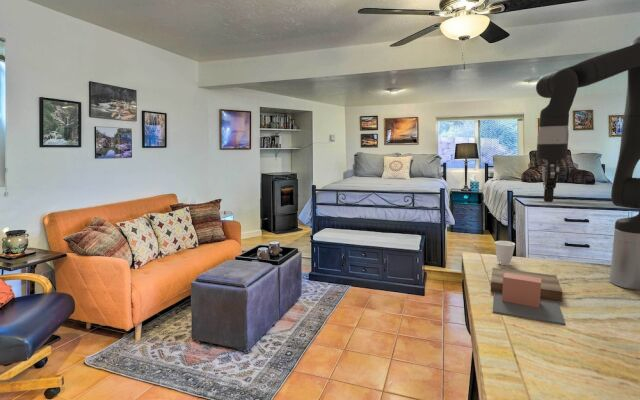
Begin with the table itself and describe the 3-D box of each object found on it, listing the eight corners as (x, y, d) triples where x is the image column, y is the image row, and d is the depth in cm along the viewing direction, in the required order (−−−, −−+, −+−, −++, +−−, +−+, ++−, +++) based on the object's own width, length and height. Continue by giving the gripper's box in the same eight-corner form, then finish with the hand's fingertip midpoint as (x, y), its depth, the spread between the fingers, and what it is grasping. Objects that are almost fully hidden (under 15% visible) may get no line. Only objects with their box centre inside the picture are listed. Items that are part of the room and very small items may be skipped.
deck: (492, 276, 119) (492, 267, 119) (555, 284, 111) (556, 275, 111) (490, 291, 107) (491, 281, 107) (561, 301, 99) (562, 291, 98)
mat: (494, 293, 106) (494, 291, 106) (557, 302, 98) (558, 301, 98) (492, 312, 93) (492, 311, 93) (565, 325, 86) (565, 323, 86)
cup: (489, 263, 132) (490, 242, 131) (501, 258, 138) (502, 238, 137) (509, 268, 127) (510, 246, 125) (520, 262, 133) (521, 241, 132)
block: (504, 272, 102) (503, 277, 98) (541, 278, 97) (541, 283, 94) (503, 295, 103) (501, 300, 99) (539, 302, 98) (539, 307, 95)
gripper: (571, 142, 95) (566, 205, 97) (564, 142, 106) (560, 199, 109) (539, 142, 98) (535, 204, 101) (535, 143, 110) (532, 198, 112)
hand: (548, 201), depth 105 cm, fingers closed
